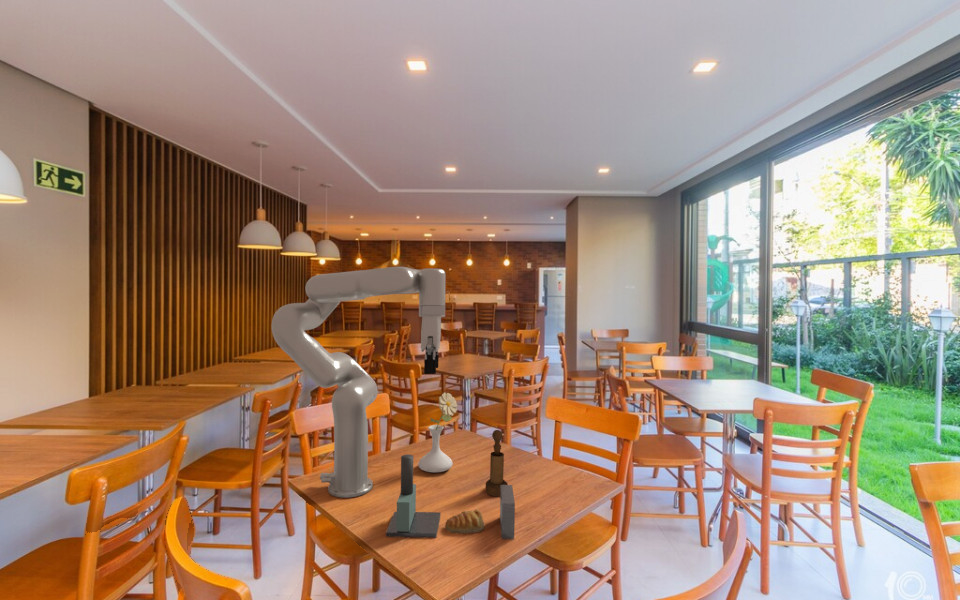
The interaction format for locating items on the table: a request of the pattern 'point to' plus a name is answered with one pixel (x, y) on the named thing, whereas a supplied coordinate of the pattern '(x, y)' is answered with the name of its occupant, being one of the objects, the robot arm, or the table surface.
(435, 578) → the table surface
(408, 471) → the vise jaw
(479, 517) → the pastry
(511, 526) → the block
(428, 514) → the dark grey flat plate
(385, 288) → the robot arm
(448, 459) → the flower in vase
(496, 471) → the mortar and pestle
